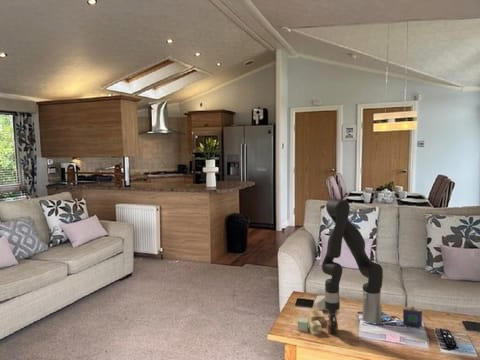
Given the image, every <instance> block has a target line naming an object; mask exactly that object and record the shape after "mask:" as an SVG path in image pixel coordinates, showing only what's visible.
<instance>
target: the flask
mask: <svg viewBox="0 0 480 360" xmlns="http://www.w3.org/2000/svg"><path fill="white" fill-rule="evenodd" d="M402 313H403V314H402V319H403V320H402V322H403V323H402V325H403V324H404V325H406V326H405V327H408V326H410V328H423V310H422V309H419V308H415V306H414V305H413V306H411V307H404V308H403V310H402ZM404 325H403V326H404Z"/></svg>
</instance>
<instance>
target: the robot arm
mask: <svg viewBox="0 0 480 360" xmlns="http://www.w3.org/2000/svg"><path fill="white" fill-rule="evenodd" d="M350 207H351V206H350V203H349V202H348V201H347V200H346V199H340V198H331V199H329V200H327V202H326V206H325V208H326V209H325V210H326V213H327V214H328V216H329V217H330V218H331V220H332V222H334V227H333V229H332V230H331V233H330V235H329V237H328V239H327V245H326V246H327V247H326V252H325V256H324V259H323V261H322V264H321V270H322V272H323V273H324V274H325V275H328V276H331V278H327V279H326V280H325V281H324V282H325V283H324V295H325V308H326V309H327V310H326V311H327V314H328V315H327V316H328V320H329V321H330V322H331V325H330V326H331V334H330V335H336V334H335V327H337V326H336V323H338V319H337V315H338V314H337V311H339V310H340V307H341V306H340V305H341V304H340V302H341V301H340V298H341V297H340V282H341V278H342V275H343V267H342V265H341V264H340V263H337V262H335V261H334V259H338V258H340V257H341V254H342V244H343V240H344V241H345V245H346V246H347V247H348V249H349V251H350V253H351V255H352V256H353V258H354V260H355V263H356V265H357V267H358V270H359V272H360V273H361V275H362V276H363V277H365V278H367V279H368V280H367V282H365V283H363V284H362V321H363V320H364V321H366V322H369V323H378V322H381V323H382V321H383V320H382V319H383V318H382V312H383V310H382V309H383V307H382V305H381V296H382V295H381V293H382V292H381V290H382V287H383V278H384V269H383V267H382V265H381V264H380V263H377V262H374V261H372V260H371V259H370V258H369V256H368V255H367V253H366V241H365V239H364V237H363V235H362V233H361V232H360V230H359V229H358V228H357V227H356V226H355V225H354V224H353V223H352V222H351V221H350V220H349V216H350V209H351V208H350ZM364 321H363V322H364ZM366 322H365V323H366Z"/></svg>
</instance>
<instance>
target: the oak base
mask: <svg viewBox="0 0 480 360" xmlns="http://www.w3.org/2000/svg"><path fill="white" fill-rule="evenodd" d="M324 314H325V313H323V311H319V310H309V315H308V316H309V321H317V320H318V321H319V322H320V324H321V326H325V325H326V324H325V318H326V317H325V315H324Z"/></svg>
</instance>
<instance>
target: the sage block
mask: <svg viewBox="0 0 480 360" xmlns="http://www.w3.org/2000/svg"><path fill="white" fill-rule="evenodd" d="M308 330H309V318H307V317H298V320H297V331H298V332H305V331H306V332H305V333H307V332H308Z"/></svg>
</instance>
